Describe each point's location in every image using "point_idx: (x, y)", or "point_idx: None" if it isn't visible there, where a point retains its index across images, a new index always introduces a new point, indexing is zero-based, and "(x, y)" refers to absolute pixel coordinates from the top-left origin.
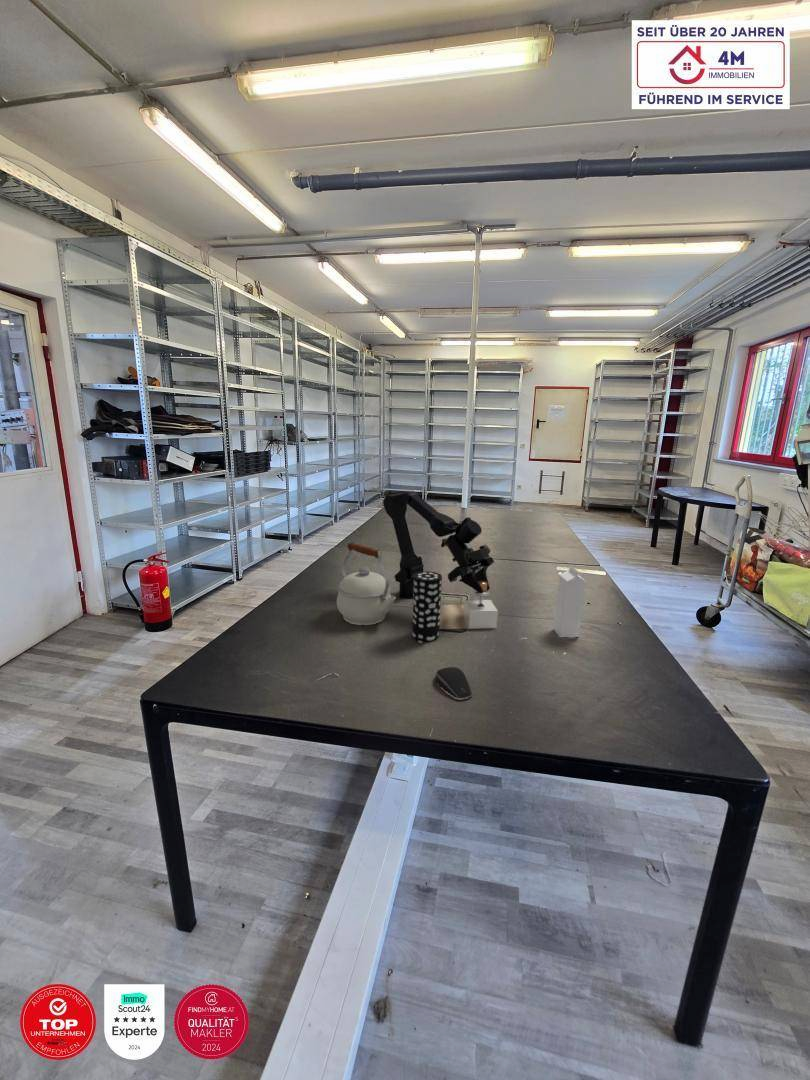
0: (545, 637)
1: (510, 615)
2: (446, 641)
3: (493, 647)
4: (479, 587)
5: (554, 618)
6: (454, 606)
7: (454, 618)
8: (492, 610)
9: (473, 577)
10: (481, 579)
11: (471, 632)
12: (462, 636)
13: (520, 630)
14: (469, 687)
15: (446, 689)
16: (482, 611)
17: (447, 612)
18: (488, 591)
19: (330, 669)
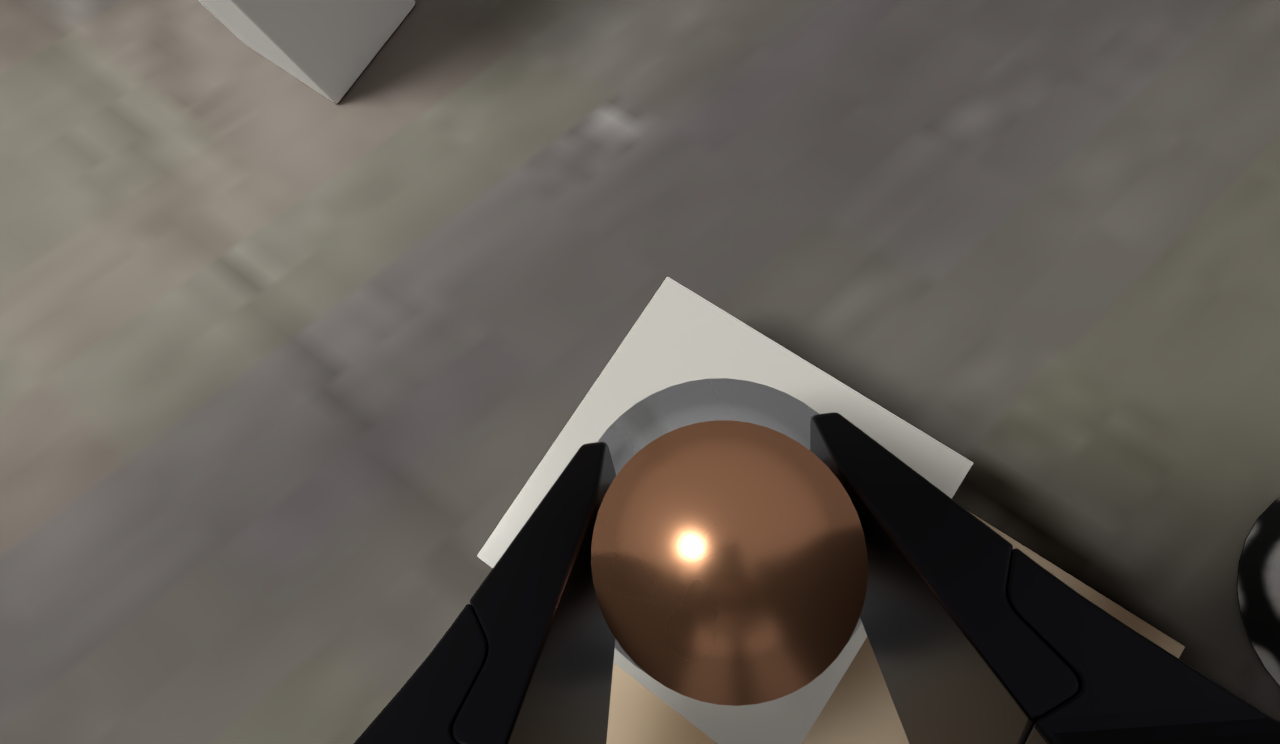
0: (484, 58)
1: (364, 447)
2: (1232, 423)
3: (930, 143)
4: (905, 467)
5: (273, 38)
6: None
7: (866, 717)
8: (710, 319)
9: (1223, 730)
10: (574, 732)
11: (903, 417)
12: (1030, 409)
13: (533, 219)
14: None
15: None
16: (827, 374)
17: None
18: (630, 438)
19: None
